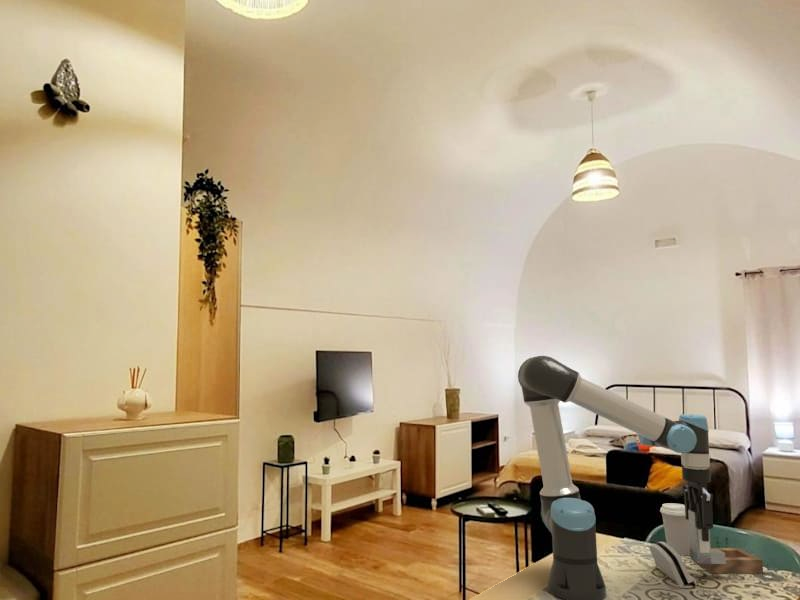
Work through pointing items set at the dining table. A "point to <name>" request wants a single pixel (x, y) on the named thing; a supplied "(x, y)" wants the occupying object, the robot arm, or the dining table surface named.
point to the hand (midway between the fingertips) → (700, 549)
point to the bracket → (706, 558)
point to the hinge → (670, 563)
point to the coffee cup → (676, 527)
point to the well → (736, 563)
